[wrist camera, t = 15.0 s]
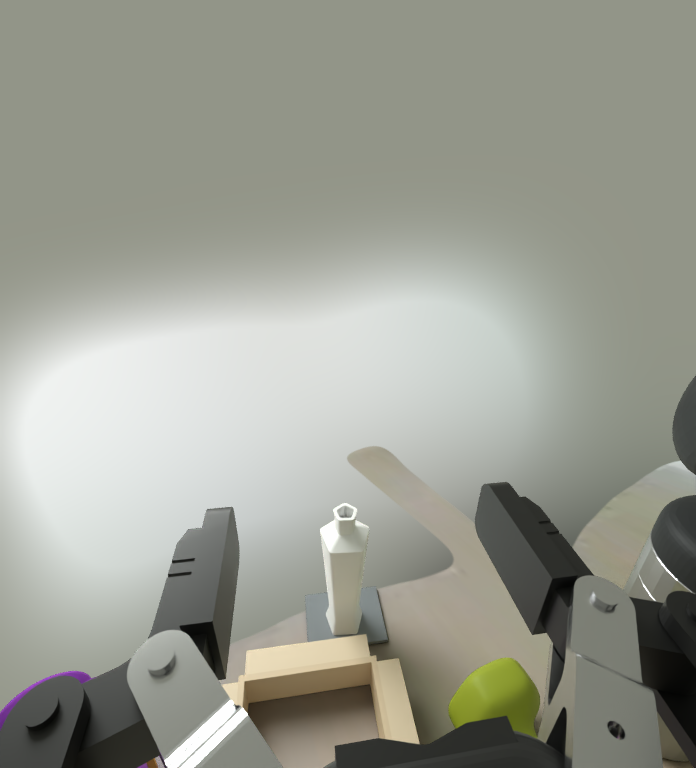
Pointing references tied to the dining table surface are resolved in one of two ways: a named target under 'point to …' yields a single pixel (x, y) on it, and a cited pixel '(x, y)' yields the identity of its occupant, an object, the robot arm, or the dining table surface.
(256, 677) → the carton
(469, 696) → the dumbbell
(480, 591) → the dining table surface
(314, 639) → the mat
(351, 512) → the white vase
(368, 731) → the dining table surface
